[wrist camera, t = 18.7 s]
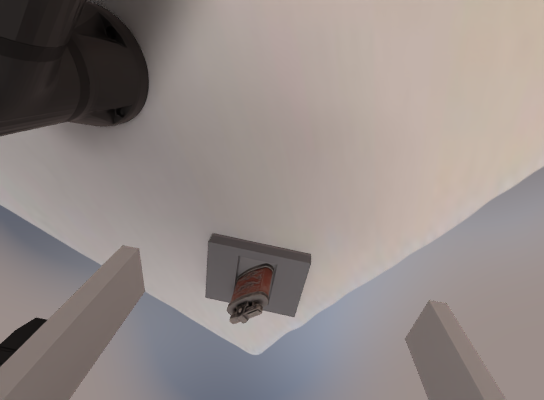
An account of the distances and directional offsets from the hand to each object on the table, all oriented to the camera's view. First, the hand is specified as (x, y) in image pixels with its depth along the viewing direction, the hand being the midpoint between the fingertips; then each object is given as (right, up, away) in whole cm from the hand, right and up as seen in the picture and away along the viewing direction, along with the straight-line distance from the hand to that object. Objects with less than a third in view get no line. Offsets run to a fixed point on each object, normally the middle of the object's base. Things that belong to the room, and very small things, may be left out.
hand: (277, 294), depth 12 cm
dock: (-3, -10, +37) cm, 38 cm away
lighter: (-3, -10, +37) cm, 38 cm away
